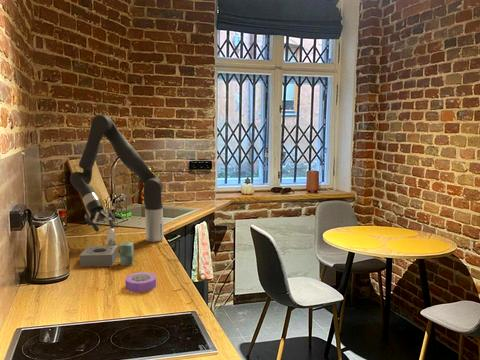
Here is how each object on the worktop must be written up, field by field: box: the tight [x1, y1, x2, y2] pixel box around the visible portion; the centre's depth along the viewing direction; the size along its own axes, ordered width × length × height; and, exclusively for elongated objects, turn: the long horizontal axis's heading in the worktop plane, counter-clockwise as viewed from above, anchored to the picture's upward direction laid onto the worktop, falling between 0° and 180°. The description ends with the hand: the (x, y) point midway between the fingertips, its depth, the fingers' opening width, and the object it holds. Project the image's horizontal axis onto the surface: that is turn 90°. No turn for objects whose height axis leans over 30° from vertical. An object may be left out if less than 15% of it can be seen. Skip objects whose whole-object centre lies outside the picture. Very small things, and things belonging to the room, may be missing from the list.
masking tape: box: [124, 271, 157, 293], centre depth 170 cm, size 12×12×4 cm
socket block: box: [79, 245, 119, 267], centre depth 199 cm, size 14×14×5 cm
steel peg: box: [106, 227, 117, 246], centre depth 215 cm, size 4×4×11 cm
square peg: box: [119, 241, 135, 266], centre depth 196 cm, size 5×5×9 cm
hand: (105, 229), depth 217 cm, fingers open, 8 cm apart
